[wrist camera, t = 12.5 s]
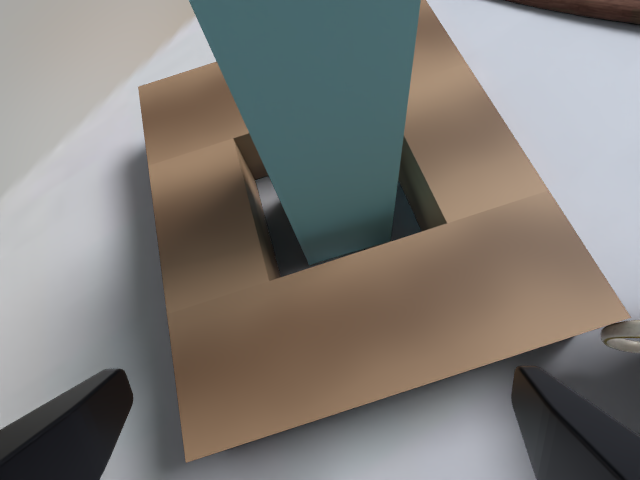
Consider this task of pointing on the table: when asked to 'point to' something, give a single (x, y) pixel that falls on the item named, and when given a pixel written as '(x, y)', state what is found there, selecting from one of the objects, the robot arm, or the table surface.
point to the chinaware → (622, 336)
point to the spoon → (592, 8)
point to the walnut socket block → (355, 261)
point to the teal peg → (322, 107)
